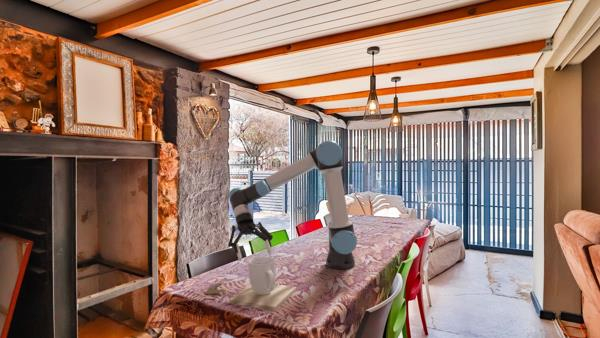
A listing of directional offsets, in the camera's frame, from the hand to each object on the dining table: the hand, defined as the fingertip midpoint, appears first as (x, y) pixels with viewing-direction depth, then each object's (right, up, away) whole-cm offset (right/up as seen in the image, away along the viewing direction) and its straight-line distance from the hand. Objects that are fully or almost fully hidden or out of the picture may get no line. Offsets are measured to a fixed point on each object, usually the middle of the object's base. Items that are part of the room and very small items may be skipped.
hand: (256, 256), depth 137 cm
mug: (+4, -13, -6) cm, 15 cm away
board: (+4, -15, -6) cm, 16 cm away
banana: (-15, -16, +6) cm, 23 cm away
